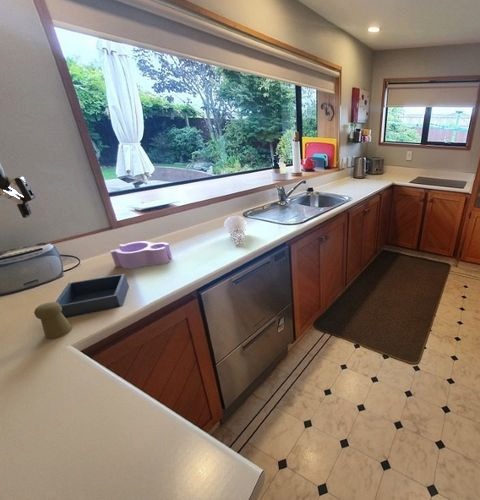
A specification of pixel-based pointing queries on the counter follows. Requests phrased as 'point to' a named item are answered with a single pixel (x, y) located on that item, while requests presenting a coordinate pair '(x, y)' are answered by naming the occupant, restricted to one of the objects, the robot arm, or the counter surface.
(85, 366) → the counter surface
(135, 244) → the purple compartment tray
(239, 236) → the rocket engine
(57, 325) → the cork
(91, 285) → the tub
